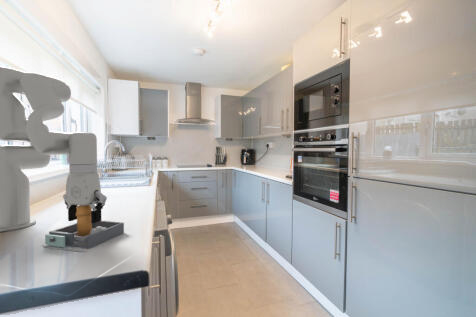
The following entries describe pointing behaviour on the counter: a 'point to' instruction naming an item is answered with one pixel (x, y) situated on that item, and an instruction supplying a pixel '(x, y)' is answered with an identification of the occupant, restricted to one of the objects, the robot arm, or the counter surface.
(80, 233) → the peg
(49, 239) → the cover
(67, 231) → the tray
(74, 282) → the counter surface
